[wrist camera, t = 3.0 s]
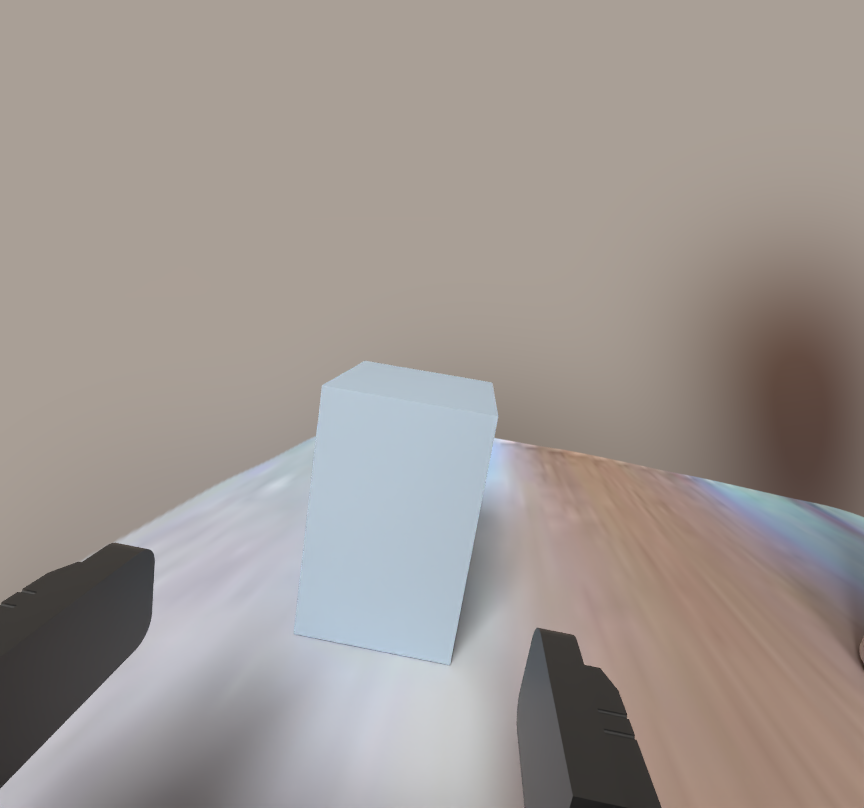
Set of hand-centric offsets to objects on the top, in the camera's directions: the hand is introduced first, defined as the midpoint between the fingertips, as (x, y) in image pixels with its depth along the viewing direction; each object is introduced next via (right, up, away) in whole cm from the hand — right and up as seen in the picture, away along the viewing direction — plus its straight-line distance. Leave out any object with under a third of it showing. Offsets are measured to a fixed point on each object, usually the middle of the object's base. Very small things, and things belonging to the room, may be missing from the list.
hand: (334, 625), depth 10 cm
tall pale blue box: (0, -4, +13) cm, 13 cm away
